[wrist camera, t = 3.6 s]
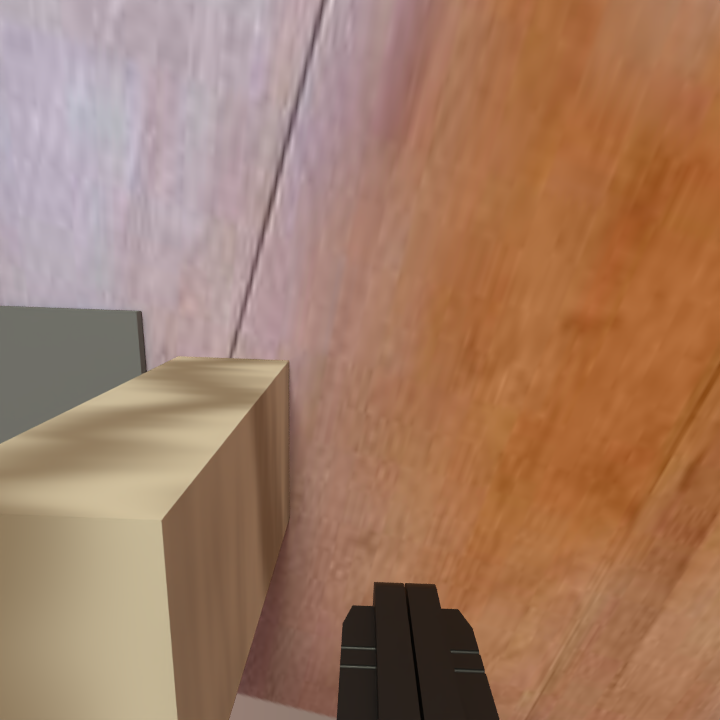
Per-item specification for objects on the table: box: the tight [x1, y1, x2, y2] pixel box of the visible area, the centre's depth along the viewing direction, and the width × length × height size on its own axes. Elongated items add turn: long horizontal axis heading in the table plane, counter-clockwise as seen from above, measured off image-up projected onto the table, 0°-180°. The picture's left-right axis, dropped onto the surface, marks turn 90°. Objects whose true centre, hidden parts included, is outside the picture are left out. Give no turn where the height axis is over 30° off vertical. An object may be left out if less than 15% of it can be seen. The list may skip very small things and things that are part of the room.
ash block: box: [0, 356, 290, 720], centre depth 14 cm, size 5×8×12 cm, turn 178°
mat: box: [0, 306, 146, 444], centre depth 19 cm, size 14×12×1 cm
